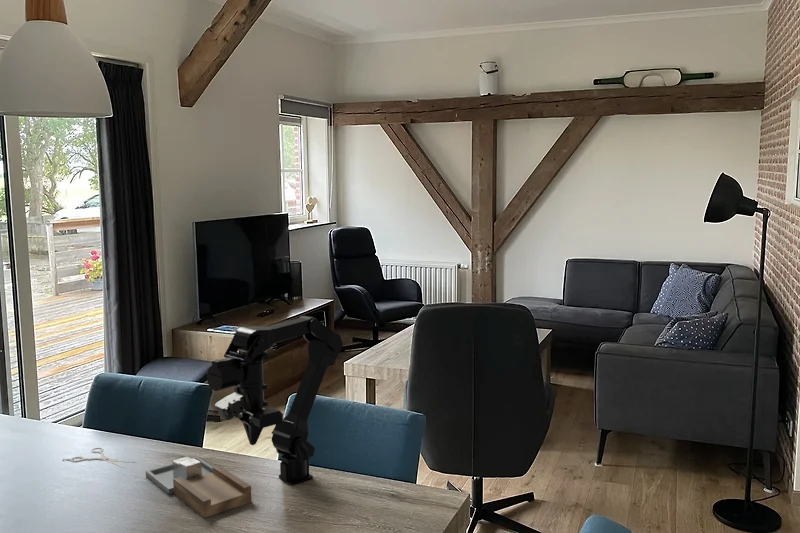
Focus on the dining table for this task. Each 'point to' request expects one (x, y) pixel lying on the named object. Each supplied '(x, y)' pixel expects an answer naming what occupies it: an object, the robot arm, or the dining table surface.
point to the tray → (171, 475)
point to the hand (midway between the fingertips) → (252, 444)
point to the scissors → (99, 458)
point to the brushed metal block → (190, 469)
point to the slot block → (213, 492)
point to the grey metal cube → (176, 466)
